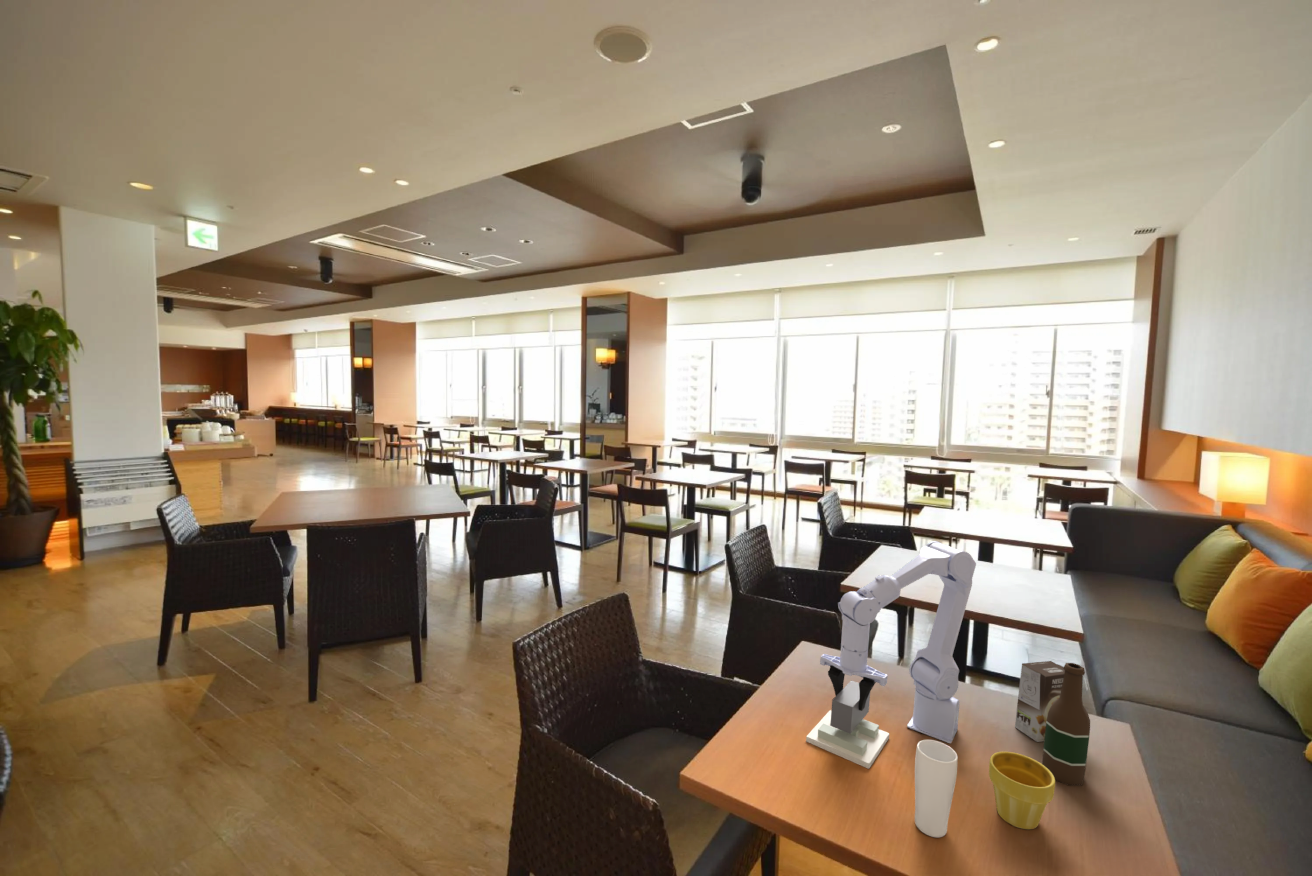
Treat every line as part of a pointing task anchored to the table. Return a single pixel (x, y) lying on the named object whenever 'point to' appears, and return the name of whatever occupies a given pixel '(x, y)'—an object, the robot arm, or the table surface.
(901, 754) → the table surface
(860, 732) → the stand
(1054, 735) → the beer bottle
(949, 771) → the drinking glass
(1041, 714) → the coffee box
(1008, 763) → the plant pot
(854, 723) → the grey upright block
